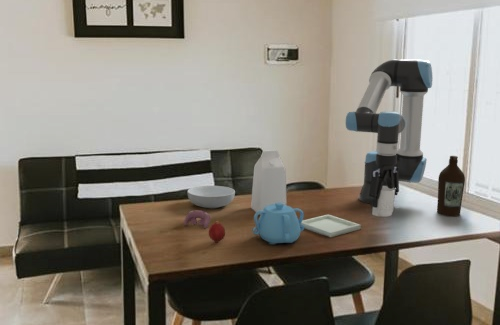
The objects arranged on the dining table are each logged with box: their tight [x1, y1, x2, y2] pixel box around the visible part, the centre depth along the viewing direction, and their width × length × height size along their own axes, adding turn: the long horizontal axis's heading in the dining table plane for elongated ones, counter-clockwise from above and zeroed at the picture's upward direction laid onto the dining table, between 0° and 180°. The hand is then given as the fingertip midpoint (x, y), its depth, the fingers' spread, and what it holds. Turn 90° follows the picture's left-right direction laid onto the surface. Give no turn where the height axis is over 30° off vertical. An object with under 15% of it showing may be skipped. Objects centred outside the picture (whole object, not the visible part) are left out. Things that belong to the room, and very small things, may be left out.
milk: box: [250, 149, 287, 216], centre depth 230 cm, size 12×12×26 cm
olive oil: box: [436, 155, 466, 217], centre depth 232 cm, size 11×11×25 cm
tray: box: [300, 213, 362, 238], centre depth 210 cm, size 17×17×2 cm
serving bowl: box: [186, 185, 236, 209], centre depth 238 cm, size 21×21×7 cm
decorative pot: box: [252, 202, 305, 245], centre depth 194 cm, size 16×16×14 cm
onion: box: [208, 220, 226, 244], centre depth 190 cm, size 6×6×8 cm
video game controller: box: [183, 209, 212, 230], centre depth 209 cm, size 10×5×7 cm, turn 71°
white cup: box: [376, 186, 396, 217], centre depth 203 cm, size 8×8×10 cm
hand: (382, 213), depth 204 cm, fingers closed on white cup, 8 cm apart
